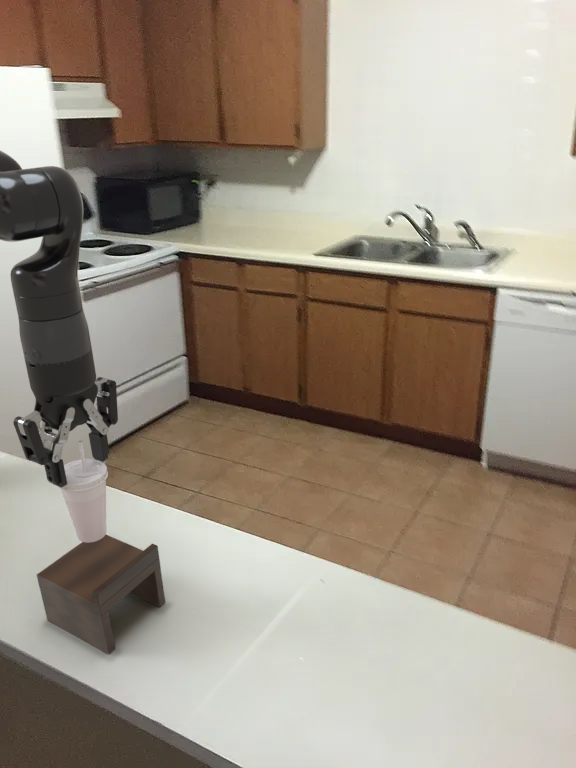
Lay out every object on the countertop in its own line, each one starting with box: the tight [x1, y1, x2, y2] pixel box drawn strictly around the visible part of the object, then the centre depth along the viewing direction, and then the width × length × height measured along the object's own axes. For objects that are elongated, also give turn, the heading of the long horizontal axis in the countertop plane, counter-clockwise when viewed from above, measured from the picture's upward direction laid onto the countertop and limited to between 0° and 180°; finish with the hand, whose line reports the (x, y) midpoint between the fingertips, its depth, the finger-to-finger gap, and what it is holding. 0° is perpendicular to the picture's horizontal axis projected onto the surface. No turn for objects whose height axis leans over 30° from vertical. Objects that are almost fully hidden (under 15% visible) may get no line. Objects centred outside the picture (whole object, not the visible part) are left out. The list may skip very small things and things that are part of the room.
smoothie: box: [58, 439, 109, 543], centre depth 86 cm, size 6×6×14 cm
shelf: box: [36, 534, 166, 655], centre depth 92 cm, size 12×11×10 cm
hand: (80, 471), depth 84 cm, fingers closed on smoothie, 6 cm apart
